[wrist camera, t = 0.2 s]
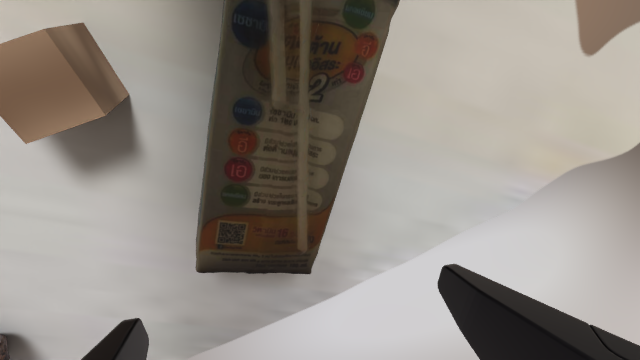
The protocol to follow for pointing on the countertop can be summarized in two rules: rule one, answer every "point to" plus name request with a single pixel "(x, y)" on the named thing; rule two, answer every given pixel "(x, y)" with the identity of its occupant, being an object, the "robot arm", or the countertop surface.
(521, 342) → the robot arm
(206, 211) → the beverage carton
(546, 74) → the countertop surface
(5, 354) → the perforated stone tool
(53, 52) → the walnut block
